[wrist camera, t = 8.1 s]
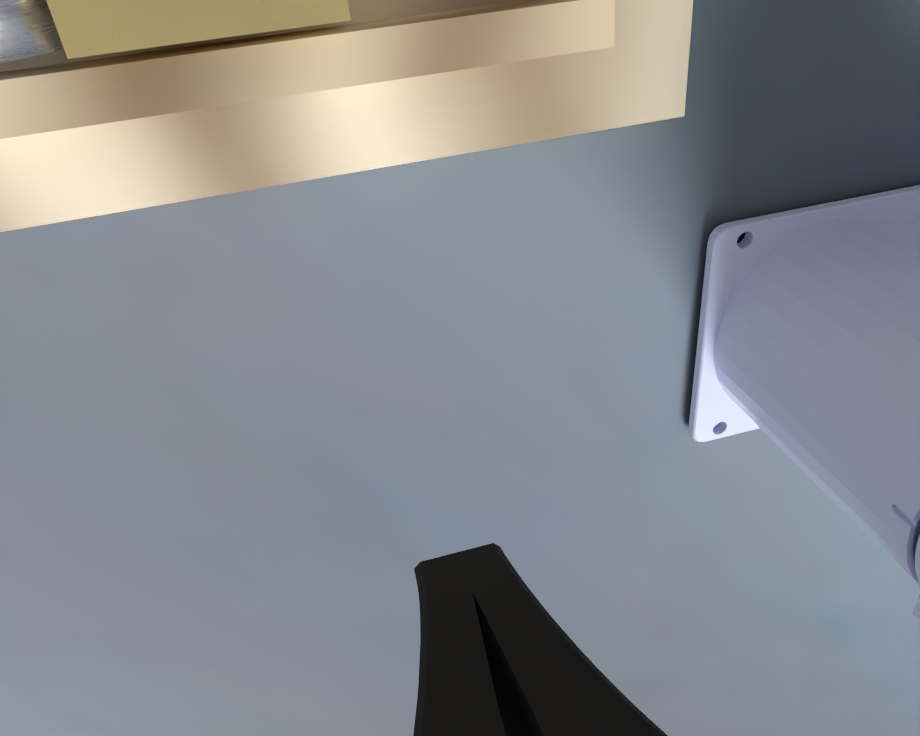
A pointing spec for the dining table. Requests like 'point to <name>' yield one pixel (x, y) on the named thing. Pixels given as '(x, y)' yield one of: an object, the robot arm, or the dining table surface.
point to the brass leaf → (179, 21)
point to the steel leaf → (26, 30)
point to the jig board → (328, 99)
